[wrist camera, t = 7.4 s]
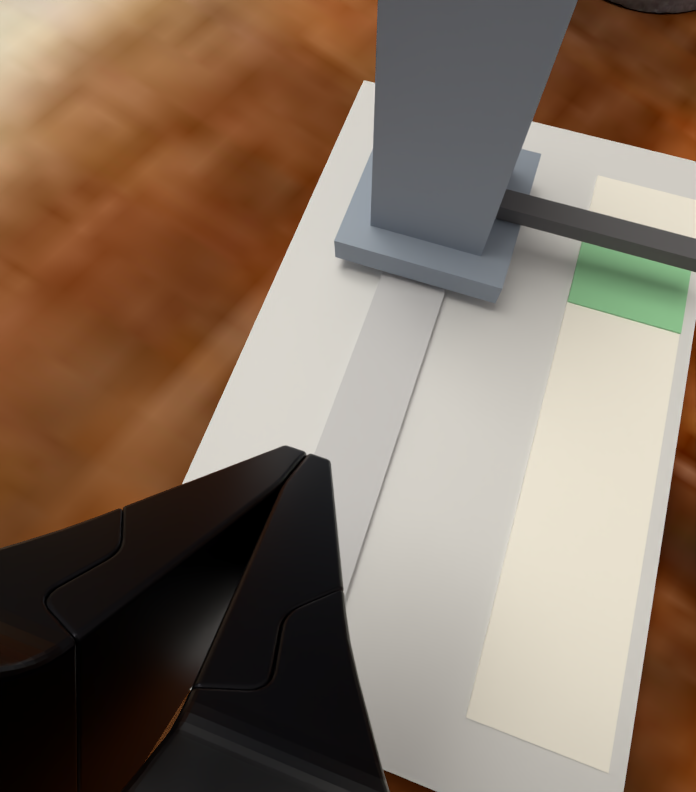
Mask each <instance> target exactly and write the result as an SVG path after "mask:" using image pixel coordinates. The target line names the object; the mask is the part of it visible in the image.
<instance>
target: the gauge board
mask: <svg viewBox="0 0 696 792" xmlns="http://www.w3.org/2000/svg"><path fill="white" fill-rule="evenodd" d="M374 104H375V83H372V82H368V81H363V83H362V86H361V88H360V90H359V92H358V94H357V97H356V99H355V101H354V103H353V106H352V108H351V110H350V112H349V115H348V117H347V119H346V121H345V123H344V126H343V128H342V130H341V132H340V135H339V137H338V139H337V141H336V143H335V146H334V148H333V150H332V152H331V155H330V157H329V159H328V161H327V163H326V166H325V168H324V170H323V172H322V175H321V177H320V179H319V181H318V183H317V186H316V188H315V190H314V192H313V195H312V197H311V199H310V201H309V203H308V206H307V208H306V210H305V212H304V215H303V217H302V219H301V221H300V223H299V226H298V228H297V230H296V232H295V235H294V237H293V239H292V241H291V243H290V246H289V248H288V250H287V252H286V255H285V257H284V259H283V261H282V263H281V266H280V268H279V270H278V272H277V275H276V277H275V279H274V281H273V283H272V286H271V288H270V290H269V292H268V295H267V297H266V299H265V301H264V303H263V306H262V308H261V310H260V312H259V315H258V317H257V319H256V321H255V323H254V326H253V328H252V330H251V332H250V335H249V337H248V339H247V341H246V343H245V346H244V348H243V350H242V352H241V355H240V357H239V359H238V361H237V364H236V366H235V368H234V370H233V372H232V375H231V377H230V379H229V381H228V384H227V386H226V388H225V390H224V392H223V395H222V397H221V399H220V401H219V404H218V406H217V408H216V410H215V412H214V415H213V417H212V419H211V421H210V424H209V426H208V428H207V430H206V432H205V435H204V437H203V439H202V441H201V444H200V446H199V448H198V450H197V452H196V455H195V457H194V459H193V461H192V464H191V466H190V468H189V470H188V472H187V475H186V477H185V479H184V481H183V484H184V483H187V482H190V481H192V480H195V479H197V478H200V477H203V476H205V475H208V474H210V473H213V472H216V471H218V470H221V469H224V468H226V467H229V466H231V465H234V464H237V463H239V462H242V461H244V460H247V459H250V458H252V457H255V456H257V455H260V454H263V453H265V452H268V451H270V450H273V449H276V448H278V447H281V446H284V445H288V446H291V447H293V448H296V449H299V450H302V451H305V452H306V454H307V455H308V454H314V455H317V456H320V457H323V458H326V459H328V460H330V462H331V468H332V478H333V488H334V498H335V508H336V518H337V528H338V538H339V548H340V558H341V567H342V577H343V587H344V591H343V592H344V595H345V604H346V614H347V620H348V627H349V634H350V641H351V646H352V650H353V655H354V659H355V664H356V668H357V673H358V677H359V681H360V684H361V688H362V692H363V696H364V700H365V703H366V707H367V711H368V715H369V719H370V722H371V726H372V730H373V734H374V738H375V742H376V745H377V749H378V753H379V757H380V761H381V764H382V768H383V770H386V771H388V772H390V773H393V774H395V775H398V776H400V777H403V778H405V779H407V780H410V781H412V782H415V783H417V784H420V785H422V786H424V787H427V788H429V789H432V790H434V791H437V792H623V791H624V785H625V778H626V772H627V765H628V759H629V752H630V746H631V739H632V733H633V726H634V719H635V713H636V706H637V700H638V693H639V687H640V680H641V674H642V667H643V661H644V654H645V648H646V641H647V635H648V628H649V621H650V615H651V608H652V602H653V595H654V589H655V582H656V576H657V569H658V563H659V556H660V550H661V543H662V537H663V530H664V524H665V517H666V510H667V504H668V497H669V491H670V484H671V478H672V471H673V465H674V458H675V452H676V445H677V439H678V432H679V426H680V419H681V412H682V406H683V399H684V393H685V386H686V380H687V373H688V367H689V360H690V354H691V347H692V341H693V334H694V328H695V321H696V272H693V271H689V270H685V269H681V268H678V267H674V266H670V265H667V264H663V263H659V262H656V261H652V260H648V259H644V258H641V257H637V256H633V255H630V254H626V253H622V252H618V251H615V250H611V249H607V248H604V247H600V246H596V245H593V244H589V243H585V242H581V241H578V240H574V239H570V238H567V237H563V236H559V235H555V234H552V233H548V232H544V231H541V230H537V229H533V228H530V227H526V226H522V225H521V226H520V230H519V233H518V237H517V240H516V244H515V247H514V250H513V254H512V257H511V261H510V264H509V268H508V271H507V275H506V278H505V282H504V285H503V288H502V291H501V293H500V295H499V297H498V299H497V301H496V303H492V302H488V301H485V300H481V299H478V298H475V297H471V296H468V295H464V294H461V293H457V292H454V291H450V290H447V289H443V288H440V287H437V286H433V285H430V284H426V283H423V282H419V281H416V280H412V279H409V278H406V277H402V276H399V275H395V274H392V273H388V272H385V271H381V270H378V269H375V268H371V267H368V266H364V265H361V264H357V263H354V262H350V261H347V260H344V259H340V258H337V257H335V246H334V240H335V237H336V235H337V233H338V230H339V228H340V225H341V223H342V221H343V218H344V216H345V214H346V211H347V209H348V206H349V204H350V202H351V199H352V197H353V194H354V192H355V190H356V187H357V185H358V183H359V180H360V178H361V175H362V173H363V171H364V168H365V166H366V163H367V161H368V159H369V156H370V154H371V152H372V149H373V133H374ZM522 149H524V150H528V151H532V152H536V153H540V154H541V157H540V161H539V164H538V168H537V171H536V175H535V178H534V181H533V185H532V188H531V192H530V195H531V196H535V197H539V198H543V199H547V200H550V201H554V202H558V203H562V204H566V205H569V206H573V207H577V208H581V209H585V210H588V211H592V212H596V213H600V214H604V215H608V216H611V217H615V218H619V219H623V220H627V221H630V222H634V223H638V224H642V225H646V226H650V227H653V228H657V229H661V230H665V231H669V232H672V233H676V234H680V235H684V236H688V237H692V238H695V239H696V162H695V161H691V160H687V159H683V158H679V157H675V156H671V155H667V154H663V153H659V152H655V151H650V150H646V149H642V148H638V147H634V146H630V145H626V144H622V143H618V142H614V141H610V140H605V139H601V138H597V137H593V136H589V135H585V134H581V133H577V132H573V131H569V130H565V129H560V128H556V127H552V126H548V125H544V124H540V123H536V122H531V125H530V128H529V130H528V133H527V135H526V138H525V141H524V143H523V146H522ZM191 688H192V687H191ZM190 690H191V689H190Z"/></svg>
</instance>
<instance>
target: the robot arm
mask: <svg viewBox="0 0 696 792" xmlns="http://www.w3.org/2000/svg"><path fill="white" fill-rule="evenodd" d="M343 591H344V587H343V577H342V567H341V558H340V548H339V538H338V528H337V518H336V508H335V498H334V488H333V478H332V468H331V462H330V460H328V459H326V458H323V457H320V456H317V455H314V454H308V455H307V454H306V452H305V451H302V450H299V449H296V448H293V447H291V446H288V445H284V446H281V447H278V448H276V449H273V450H270V451H268V452H265V453H263V454H260V455H257V456H255V457H252V458H250V459H247V460H244V461H242V462H239V463H237V464H234V465H231V466H229V467H226V468H224V469H221V470H218V471H216V472H213V473H210V474H208V475H205V476H203V477H200V478H197V479H195V480H192V481H190V482H187V483H184V484H182V485H179V486H177V487H174V488H171V489H169V490H166V491H164V492H161V493H158V494H156V495H153V496H151V497H148V498H145V499H143V500H140V501H137V502H135V503H132V504H130V505H127V506H125V507H123V511H122V509H116V510H114V511H111V512H108V513H106V514H103V515H100V516H98V517H95V518H92V519H90V520H87V521H84V522H81V523H78V524H76V525H73V526H70V527H67V528H64V529H62V530H58V531H55V532H52V533H49V534H46V535H42V536H39V537H36V538H33V539H30V540H26V541H23V542H20V543H17V544H13V545H10V546H6V547H3V548H0V792H390V791H389V788H388V785H387V782H386V778H385V775H384V771H383V768H382V764H381V761H380V757H379V753H378V749H377V745H376V742H375V738H374V734H373V730H372V726H371V722H370V719H369V715H368V711H367V707H366V703H365V700H364V696H363V692H362V688H361V684H360V681H359V677H358V673H357V668H356V664H355V659H354V655H353V650H352V646H351V641H350V634H349V627H348V620H347V614H346V604H345V595H344V592H343ZM191 687H192V688H191ZM190 689H191V692H190V693H189V695H188V697H187V699H186V701H185V704H184V706H183V708H182V710H181V712H180V714H179V716H178V717H177V719H176V721H175V723H174V725H173V727H172V728H171V730H170V732H169V733H168V734H167V736H166V737H165V738H164V740H163V741H162V742H161V743H160V744H159V746H158V747H157V748H156V749H155V751H154V752H153V753H152V754H151V755H150V757H149V758H148V759H147V757H148V756H149V754H150V752H151V751H152V749H153V748H154V746H155V745H156V743H157V741H158V740H159V738H160V737H161V735H162V733H163V732H164V730H165V729H166V727H167V725H168V724H169V722H170V721H171V719H172V717H173V716H174V714H175V713H176V711H177V709H178V708H179V706H180V705H181V703H182V702H183V700H184V698H185V697H186V695H187V694H188V692H189V690H190ZM146 759H147V760H146ZM145 760H146V761H145ZM144 762H145V763H144Z"/></svg>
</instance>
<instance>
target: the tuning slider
mask: <svg viewBox="0 0 696 792" xmlns="http://www.w3.org/2000/svg"><path fill="white" fill-rule="evenodd" d="M576 3H577V0H378V16H377V45H376V75H375V104H374V133H373V149H372V152H371V154H370V156H369V159H368V161H367V163H366V166H365V168H364V171H363V173H362V175H361V178H360V180H359V183H358V185H357V187H356V190H355V192H354V194H353V197H352V199H351V202H350V204H349V206H348V209H347V211H346V214H345V216H344V218H343V221H342V223H341V225H340V228H339V230H338V233H337V235H336V237H335V240H334V246H335V257H337V258H340V259H344V260H347V261H350V262H354V263H357V264H361V265H364V266H368V267H371V268H375V269H378V270H381V271H385V272H388V273H392V274H395V275H399V276H402V277H406V278H409V279H412V280H416V281H419V282H423V283H426V284H430V285H433V286H437V287H440V288H443V289H447V290H450V291H454V292H457V293H461V294H464V295H468V296H471V297H475V298H478V299H481V300H485V301H488V302H492V303H496V301H497V299H498V297H499V295H500V293H501V291H502V288H503V285H504V282H505V278H506V275H507V271H508V268H509V264H510V261H511V257H512V254H513V250H514V247H515V244H516V240H517V237H518V233H519V230H520V226H521V225H522V226H526V227H530V228H533V229H537V230H541V231H544V232H548V233H552V234H555V235H559V236H563V237H567V238H570V239H574V240H578V241H581V242H585V243H589V244H593V245H596V246H600V247H604V248H607V249H611V250H615V251H618V252H622V253H626V254H630V255H633V256H637V257H641V258H644V259H648V260H652V261H656V262H659V263H663V264H667V265H670V266H674V267H678V268H681V269H685V270H689V271H693V272H696V239H695V238H692V237H688V236H684V235H680V234H676V233H672V232H669V231H665V230H661V229H657V228H653V227H650V226H646V225H642V224H638V223H634V222H630V221H627V220H623V219H619V218H615V217H611V216H608V215H604V214H600V213H596V212H592V211H588V210H585V209H581V208H577V207H573V206H569V205H566V204H562V203H558V202H554V201H550V200H547V199H543V198H539V197H535V196H531V195H530V192H531V188H532V185H533V181H534V178H535V175H536V171H537V168H538V164H539V161H540V157H541V154H540V153H536V152H532V151H528V150H524V149H522V146H523V143H524V141H525V138H526V135H527V133H528V130H529V128H530V125H531V122H532V120H533V117H534V114H535V112H536V109H537V106H538V104H539V101H540V98H541V96H542V93H543V90H544V88H545V85H546V82H547V80H548V77H549V75H550V72H551V69H552V67H553V64H554V61H555V59H556V56H557V53H558V51H559V48H560V45H561V43H562V40H563V37H564V35H565V32H566V29H567V27H568V24H569V22H570V19H571V16H572V14H573V11H574V8H575V6H576Z"/></svg>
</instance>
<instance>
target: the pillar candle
mask: <svg viewBox="0 0 696 792" xmlns="http://www.w3.org/2000/svg"><path fill="white" fill-rule="evenodd" d="M609 1H611V2H613V3H616V4H621V5H622V6H624V7H626V8H629V9H634V10H637V11H644V12H655V13H668V12H669V13H679V12H687V11H692V10H696V0H609Z"/></svg>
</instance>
